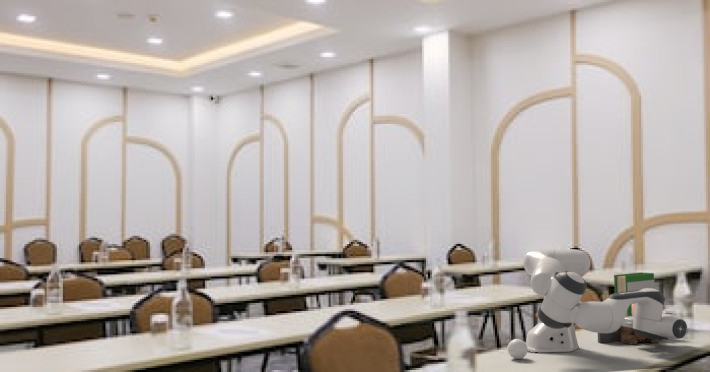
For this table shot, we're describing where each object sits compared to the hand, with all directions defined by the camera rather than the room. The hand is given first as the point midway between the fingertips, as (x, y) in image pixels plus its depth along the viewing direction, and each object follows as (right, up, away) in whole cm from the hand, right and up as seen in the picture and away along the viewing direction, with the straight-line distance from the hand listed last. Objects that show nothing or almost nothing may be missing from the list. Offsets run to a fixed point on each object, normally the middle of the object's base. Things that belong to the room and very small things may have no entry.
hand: (637, 318), depth 295 cm
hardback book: (+15, -11, +38) cm, 42 cm away
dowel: (0, -8, -2) cm, 8 cm away
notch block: (0, -9, -1) cm, 9 cm away
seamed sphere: (-55, -11, -25) cm, 62 cm away
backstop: (0, -10, +3) cm, 10 cm away
